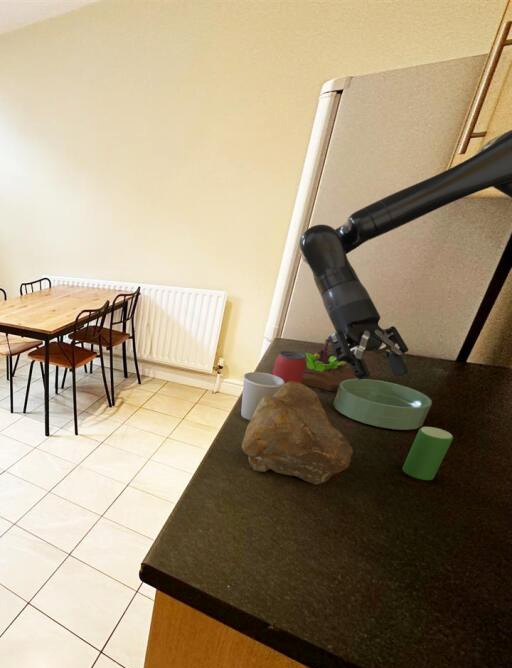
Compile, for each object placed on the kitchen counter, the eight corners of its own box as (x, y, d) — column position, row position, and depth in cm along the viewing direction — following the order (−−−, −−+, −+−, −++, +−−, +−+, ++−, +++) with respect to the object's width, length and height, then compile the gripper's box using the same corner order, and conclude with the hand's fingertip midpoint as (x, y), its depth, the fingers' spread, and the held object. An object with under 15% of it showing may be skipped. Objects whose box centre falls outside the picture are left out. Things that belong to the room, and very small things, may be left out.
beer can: (265, 390, 113) (276, 349, 108) (294, 394, 110) (306, 352, 106) (267, 400, 108) (278, 357, 103) (297, 404, 105) (310, 360, 100)
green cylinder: (415, 465, 81) (433, 425, 77) (440, 478, 77) (460, 437, 73) (395, 467, 80) (413, 427, 76) (420, 481, 76) (439, 439, 72)
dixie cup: (282, 423, 97) (293, 384, 92) (248, 425, 96) (257, 386, 92) (259, 407, 104) (268, 370, 100) (227, 409, 104) (235, 372, 100)
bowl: (372, 397, 107) (379, 376, 105) (441, 428, 93) (452, 404, 90) (316, 403, 105) (323, 381, 103) (378, 435, 91) (388, 411, 88)
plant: (363, 374, 120) (376, 338, 116) (359, 398, 107) (373, 357, 103) (283, 360, 133) (292, 326, 128) (270, 379, 120) (280, 342, 115)
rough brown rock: (321, 518, 69) (360, 444, 63) (220, 470, 80) (244, 402, 73) (348, 464, 84) (382, 400, 77) (260, 429, 95) (283, 370, 88)
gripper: (334, 299, 84) (369, 372, 79) (394, 295, 86) (433, 366, 80) (306, 318, 91) (336, 386, 86) (362, 314, 93) (396, 380, 87)
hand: (383, 376), depth 83 cm, fingers open, 8 cm apart
